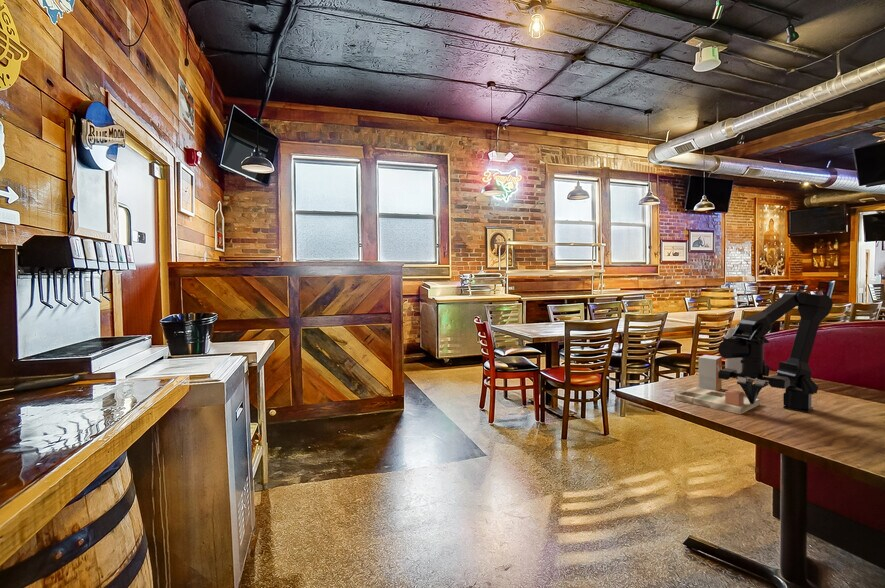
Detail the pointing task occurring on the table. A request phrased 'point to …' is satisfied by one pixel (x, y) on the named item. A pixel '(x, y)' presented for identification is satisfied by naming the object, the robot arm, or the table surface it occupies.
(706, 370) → the small box
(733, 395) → the block
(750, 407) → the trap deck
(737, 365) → the grey upright slab
